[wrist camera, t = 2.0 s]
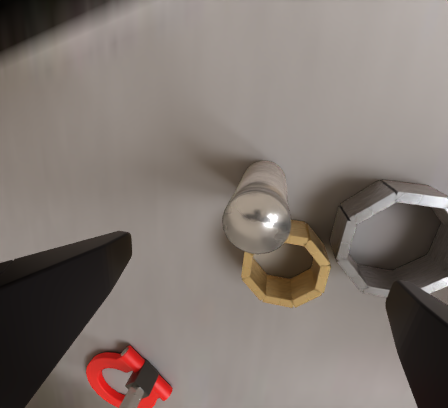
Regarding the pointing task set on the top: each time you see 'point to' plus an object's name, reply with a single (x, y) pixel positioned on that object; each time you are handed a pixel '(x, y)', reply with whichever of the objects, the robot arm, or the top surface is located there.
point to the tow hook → (137, 384)
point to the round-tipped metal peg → (259, 210)
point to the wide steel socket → (374, 203)
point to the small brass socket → (297, 286)
